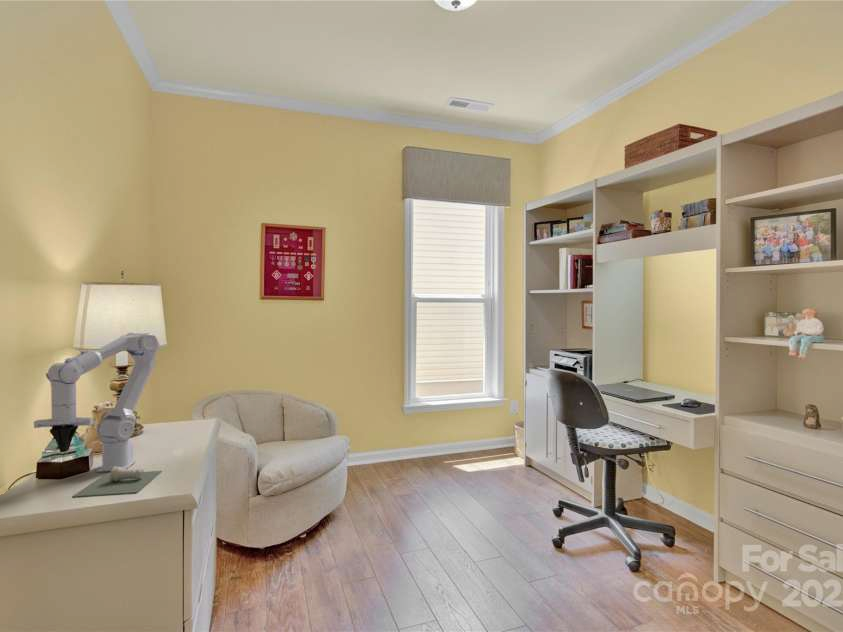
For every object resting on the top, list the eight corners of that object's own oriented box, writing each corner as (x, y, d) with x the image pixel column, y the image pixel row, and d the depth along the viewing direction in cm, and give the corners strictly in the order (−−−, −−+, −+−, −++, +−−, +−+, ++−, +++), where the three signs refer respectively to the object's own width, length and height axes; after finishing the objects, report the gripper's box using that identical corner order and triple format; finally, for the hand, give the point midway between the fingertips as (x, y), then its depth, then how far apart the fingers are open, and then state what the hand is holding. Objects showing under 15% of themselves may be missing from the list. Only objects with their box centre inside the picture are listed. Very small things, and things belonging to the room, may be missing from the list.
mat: (105, 475, 145) (105, 474, 145) (161, 471, 147) (161, 470, 147) (72, 497, 127) (72, 496, 127) (137, 493, 130) (137, 492, 130)
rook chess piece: (113, 481, 139) (143, 480, 141) (107, 483, 135) (138, 483, 137) (116, 465, 140) (146, 465, 142) (110, 466, 136) (141, 467, 138)
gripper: (26, 408, 132) (27, 456, 132) (84, 405, 135) (84, 453, 135) (42, 403, 139) (42, 449, 139) (96, 401, 141) (97, 446, 142)
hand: (64, 451), depth 137 cm, fingers closed
